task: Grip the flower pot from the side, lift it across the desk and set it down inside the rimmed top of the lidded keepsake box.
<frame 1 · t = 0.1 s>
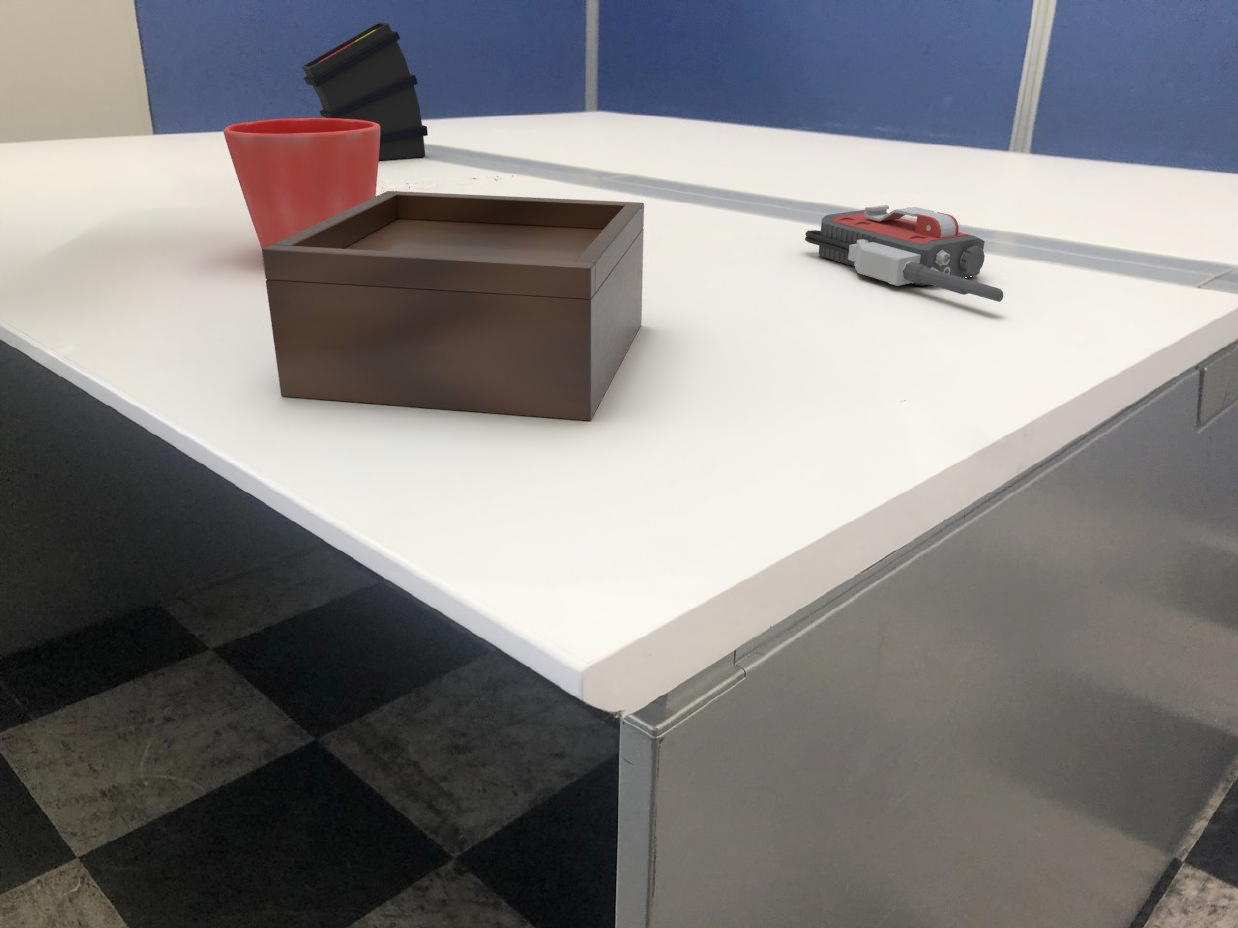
magazine: (371, 161, 123), on the table
flower pot: (317, 259, 79), on the table
walkie-talkie: (916, 279, 75), on the table
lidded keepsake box: (479, 356, 58), on the table
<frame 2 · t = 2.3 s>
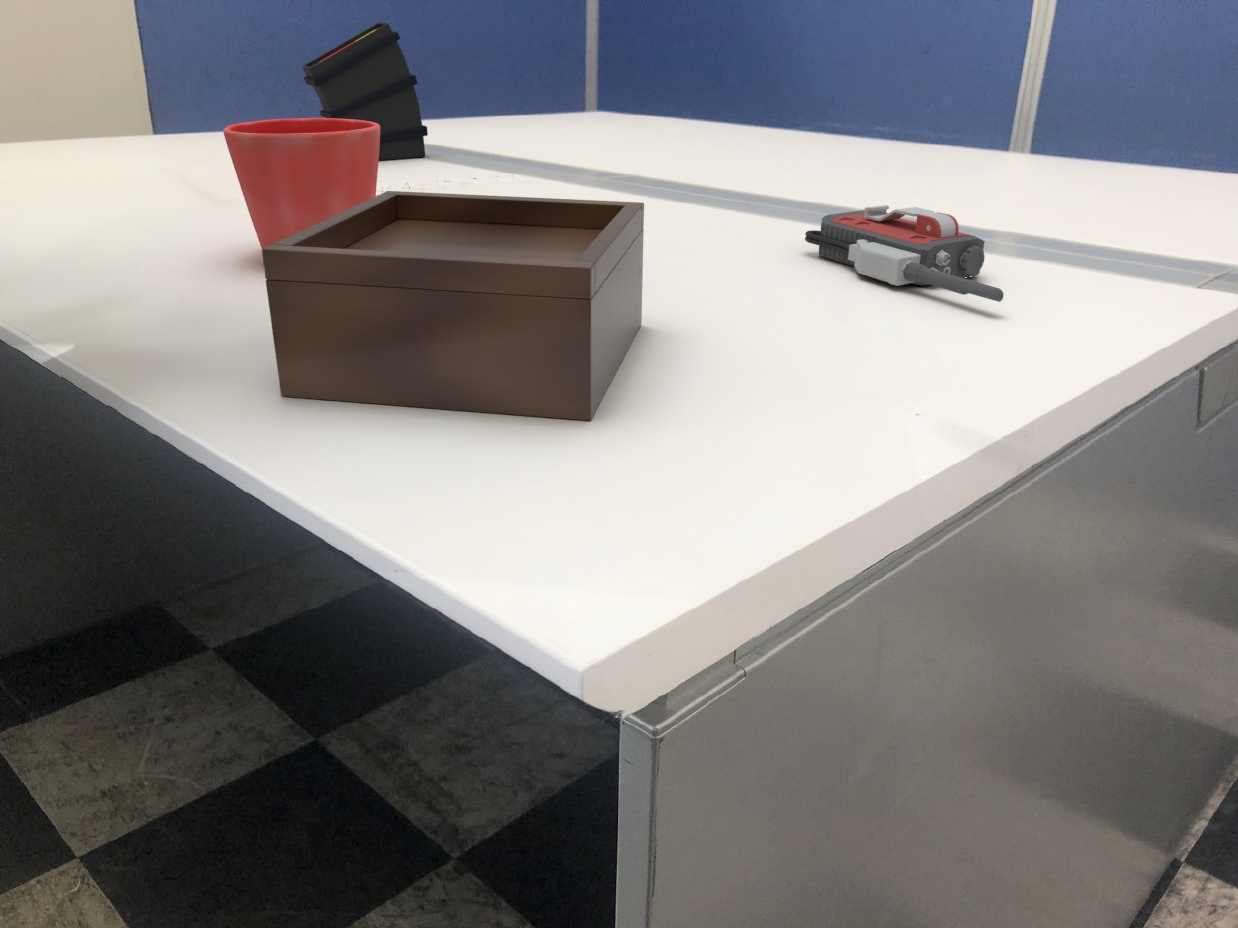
nothing on the table moved.
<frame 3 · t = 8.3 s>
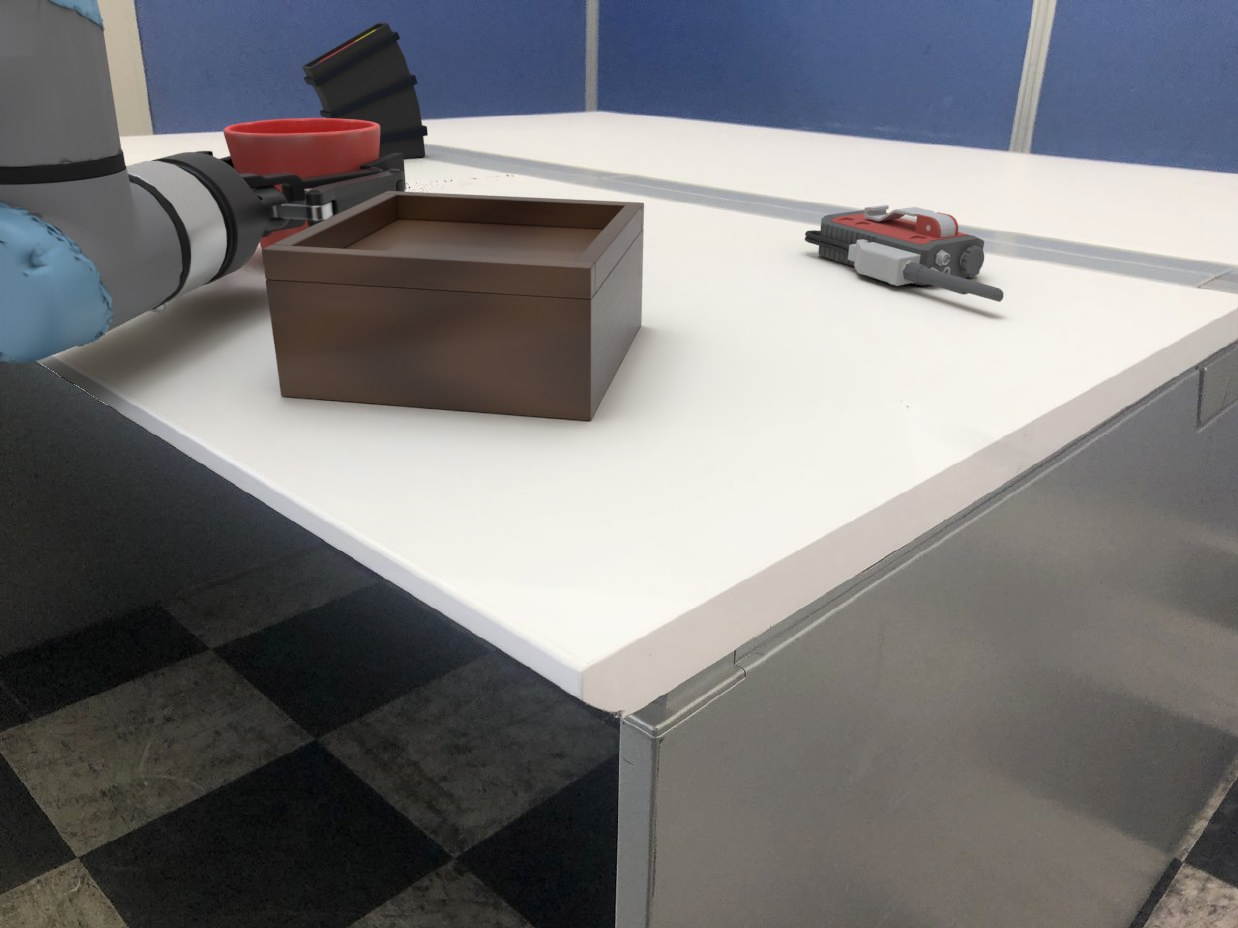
hand: (332, 168, 80), 6 cm above the table, tool horizontal, fingers closed on flower pot, 10 cm apart
flower pot: (318, 259, 79), on the table, touching gripper
everything else where it was.
when the fingers open (12 cm above the table, at t = 18.4 s): flower pot stays where it is, resting on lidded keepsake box.
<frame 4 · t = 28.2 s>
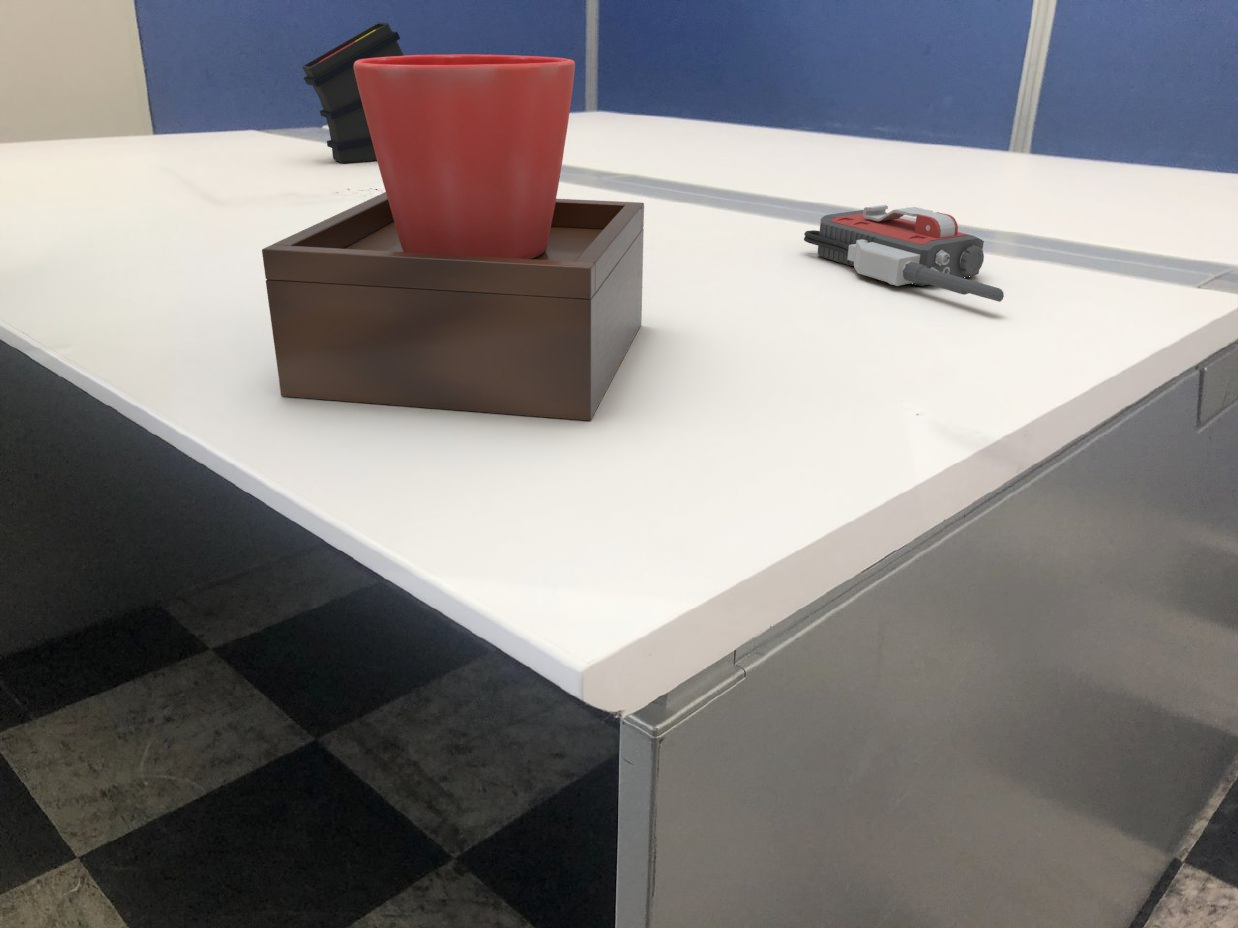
flower pot: (475, 254, 55), point 6 cm above the table, touching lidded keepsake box
everything else where it was.
at the end: flower pot 0.0 cm off-centre on the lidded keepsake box, point 5.8 cm above the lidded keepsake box's base; flower pot tilted 0°; the gripper is holding nothing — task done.
